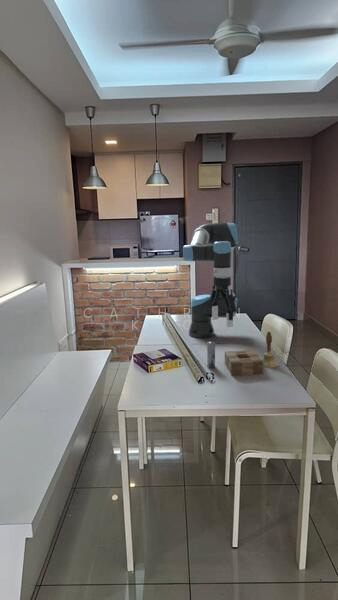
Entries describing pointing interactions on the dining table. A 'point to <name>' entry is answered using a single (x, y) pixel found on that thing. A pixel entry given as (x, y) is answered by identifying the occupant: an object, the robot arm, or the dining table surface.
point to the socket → (243, 362)
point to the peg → (211, 354)
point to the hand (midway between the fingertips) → (222, 323)
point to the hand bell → (269, 354)
